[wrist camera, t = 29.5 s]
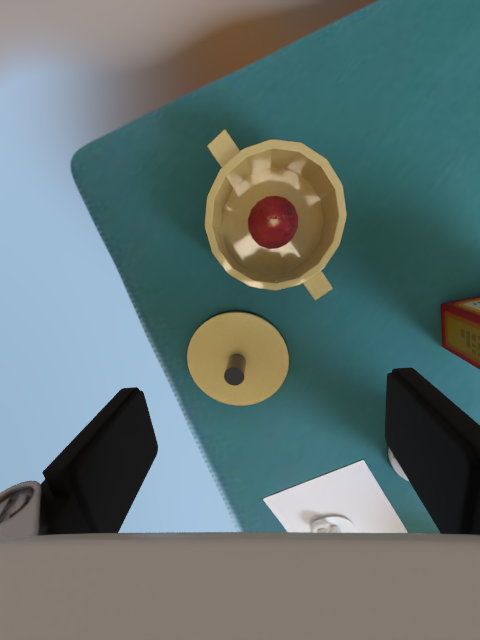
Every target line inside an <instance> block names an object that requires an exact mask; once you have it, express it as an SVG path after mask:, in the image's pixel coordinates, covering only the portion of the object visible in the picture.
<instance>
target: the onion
mask: <svg viewBox="0 0 480 640" xmlns="http://www.w3.org/2000/svg"><path fill="white" fill-rule="evenodd" d="M297 229H298V215H297V212H296V209H295V206H294V205H293V204H292V203H291V202H290V201H289V200H287V199H286V198H283V197H280V196H269V197H265V198H264V199H262V200H260V201H259V202H257V204H256V205H255V206H254V207H253V208H252V209H251V212H250V215H249V218H248V230H249V232H250V234H251V236H252V239H253V240H254V241H255V242H256V243H257V244H258V245H260V246H262V247H265V248H267V249H275V248H280V247H282V246H284V245H286V244H287V243H288V242H289V241H290V240H291V239H292V238H293V237H294V235H295V233H296V231H297Z"/></svg>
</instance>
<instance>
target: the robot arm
mask: <svg viewBox="0 0 480 640" xmlns="http://www.w3.org/2000/svg"><path fill="white" fill-rule="evenodd" d="M385 439H386V442H387V445H388V447H389V450H388V456H389V460H390V463H391V465H392V467H393V468H394V470H395V471H396V472H397V474H398V475H399V476H401V477H402V478H404V479H405V480H407V481H409V482H410V483H411V485H412V486H413V488H414V490H415V491H416V493H417V495H418V496H419V498H420V500H421V501H422V503H423V505H424V506H425V508H426V509H427V511H428V513H429V514H430V516H431V518H432V519H433V521H434V523H435V524H436V526H437V528H438V529H439V531H440V533H441V534H426V533H317V532H235V533H234V532H223V533H222V532H217V533H216V532H213V533H212V532H211V533H210V532H205V533H118V532H119V530H120V528H121V525H122V524H123V521H124V519H125V517H126V515H127V513H128V511H129V509H130V507H131V505H132V503H133V501H134V499H135V497H136V495H137V493H138V491H139V489H140V487H141V485H142V483H143V481H144V479H145V477H146V475H147V473H148V471H149V469H150V467H151V465H152V463H153V461H154V459H155V457H156V455H157V451H158V444H157V441H156V437H155V433H154V429H153V426H152V422H151V419H150V415H149V411H148V407H147V404H146V400H145V397H144V393H143V392H142V391H140V390H139V389H138V388H124V389H121V390H120V391H119V392H118V393H117V394H116V395H115V396H114V398H113V399H112V400H111V401H110V402H109V403H108V404H107V405H106V406H105V407H104V408H103V409H102V410H101V411H100V412H99V413H98V414H97V416H95V417H94V418H93V420H92V421H91V422H90V423H89V424H88V425H87V426H86V427H85V428H84V429H83V430H82V431H81V432H80V433H79V434H78V435H77V436H76V437H75V439H74V440H73V441H72V442H71V443H70V444H69V445H68V446H67V447H66V448H65V449H64V450H63V451H62V453H60V455H58V456H57V458H56V459H55V460H54V461H53V462H52V463H51V464H50V465H49V466H48V467H47V468H46V469H45V470H44V471H43V475H44V477H45V480H44V481H43V483H42V484H41V485H40V484H39V483H38V482H37V481H27V482H22V483H19V484H17V485H14V486H12V487H10V488H8V489H6V490H5V491H3V492H1V493H0V640H480V425H479V424H477V423H476V422H475V421H474V420H473V419H472V418H470V417H469V416H468V415H467V414H466V413H465V412H463V411H462V410H461V409H460V408H459V407H458V406H456V405H455V404H454V403H453V402H452V401H451V400H449V399H448V398H447V397H446V396H445V395H444V394H442V393H441V392H440V391H439V390H438V389H437V388H435V387H434V386H433V385H432V384H431V383H430V382H428V381H427V380H426V379H425V378H424V377H423V376H421V375H420V374H419V373H418V372H417V371H416V370H414V369H413V368H398V369H393V370H392V373H388V375H387V390H386V418H385Z"/></svg>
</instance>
